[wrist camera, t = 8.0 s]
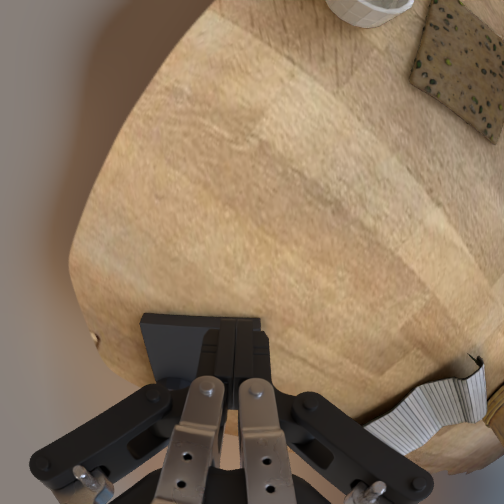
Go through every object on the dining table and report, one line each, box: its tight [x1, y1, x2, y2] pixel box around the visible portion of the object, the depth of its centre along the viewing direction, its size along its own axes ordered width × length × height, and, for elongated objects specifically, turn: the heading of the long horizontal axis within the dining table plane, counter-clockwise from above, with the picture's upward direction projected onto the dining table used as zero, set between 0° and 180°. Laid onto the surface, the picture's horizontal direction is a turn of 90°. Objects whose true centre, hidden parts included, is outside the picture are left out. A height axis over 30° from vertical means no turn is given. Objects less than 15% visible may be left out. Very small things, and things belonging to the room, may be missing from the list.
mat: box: [362, 355, 487, 456], centre depth 38 cm, size 23×24×5 cm
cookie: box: [409, 0, 504, 145], centre depth 17 cm, size 12×12×1 cm
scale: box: [140, 313, 261, 410], centre depth 31 cm, size 12×14×4 cm
